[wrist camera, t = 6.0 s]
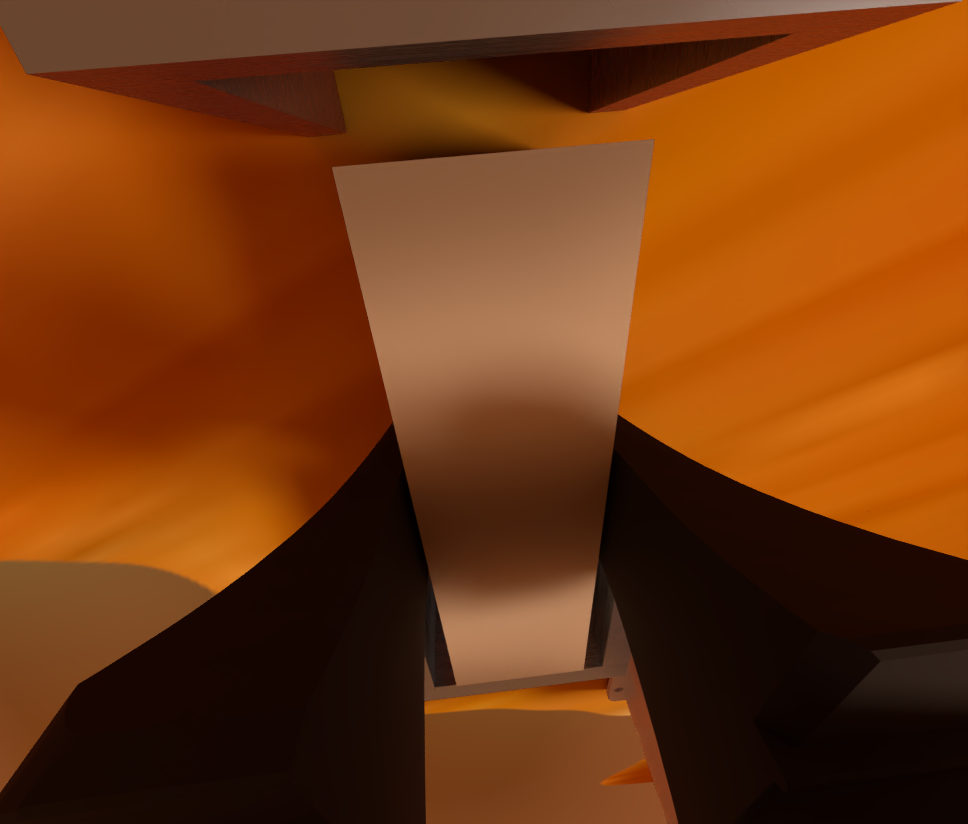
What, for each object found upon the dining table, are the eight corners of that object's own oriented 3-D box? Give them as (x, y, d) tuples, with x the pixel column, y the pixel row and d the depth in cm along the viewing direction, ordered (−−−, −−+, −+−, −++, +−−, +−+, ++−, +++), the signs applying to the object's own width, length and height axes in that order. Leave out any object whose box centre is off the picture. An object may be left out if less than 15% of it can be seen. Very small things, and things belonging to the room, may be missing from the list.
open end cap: (582, 553, 16) (625, 675, 12) (420, 572, 16) (412, 702, 12) (592, 450, 13) (652, 568, 9) (394, 472, 13) (372, 602, 9)
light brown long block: (544, 527, 15) (583, 670, 11) (454, 538, 15) (456, 686, 11) (550, 152, 8) (654, 139, 4) (389, 167, 8) (331, 166, 4)
